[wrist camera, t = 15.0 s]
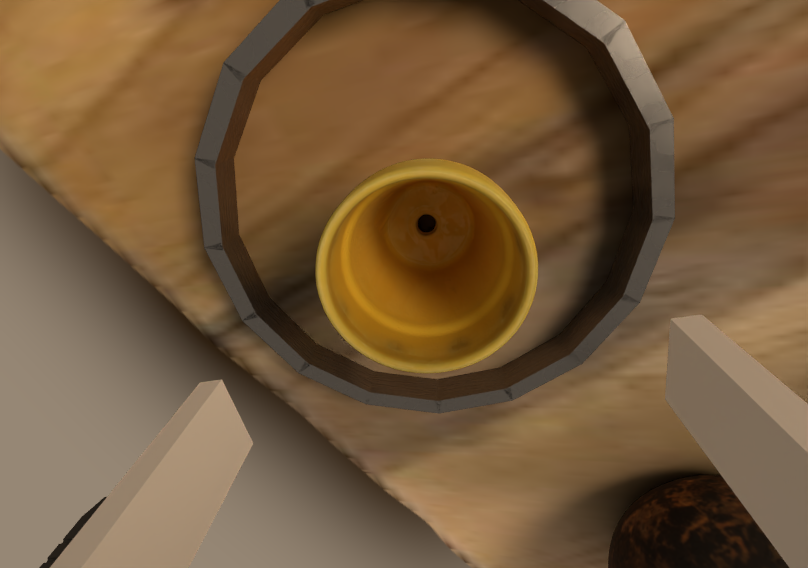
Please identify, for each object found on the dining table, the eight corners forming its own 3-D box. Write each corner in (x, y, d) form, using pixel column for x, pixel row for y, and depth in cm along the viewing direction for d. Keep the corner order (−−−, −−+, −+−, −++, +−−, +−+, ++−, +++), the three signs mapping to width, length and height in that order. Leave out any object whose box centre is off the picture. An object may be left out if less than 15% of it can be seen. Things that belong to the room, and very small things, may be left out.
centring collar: (320, -174, 19) (305, -209, 17) (758, 135, 24) (792, 140, 22) (170, 289, 31) (149, 304, 28) (486, 437, 35) (490, 461, 33)
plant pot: (321, 187, 27) (267, 234, 18) (466, 109, 24) (487, 119, 15) (394, 312, 30) (380, 401, 22) (527, 255, 28) (572, 331, 19)
